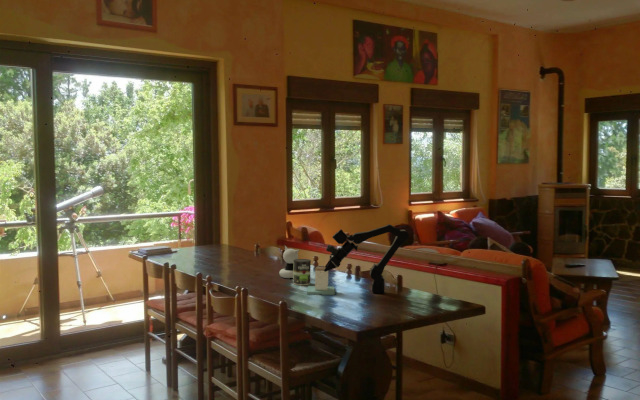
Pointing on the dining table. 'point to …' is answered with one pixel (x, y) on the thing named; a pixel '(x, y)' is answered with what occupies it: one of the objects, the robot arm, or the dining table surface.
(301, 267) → the coffee can
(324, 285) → the beige rectangular block
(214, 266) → the dining table surface
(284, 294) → the dining table surface
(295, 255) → the decorative figurine
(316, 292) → the base block
